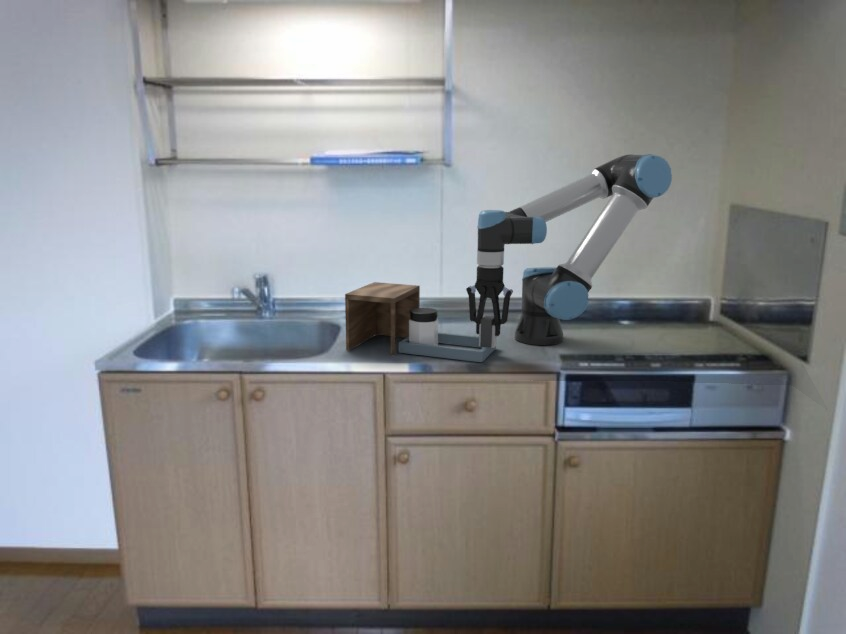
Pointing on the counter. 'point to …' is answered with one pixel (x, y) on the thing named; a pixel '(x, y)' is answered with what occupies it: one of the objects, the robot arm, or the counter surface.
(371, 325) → the open box
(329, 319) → the counter surface
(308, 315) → the counter surface
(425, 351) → the tray
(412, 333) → the jar
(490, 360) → the counter surface
